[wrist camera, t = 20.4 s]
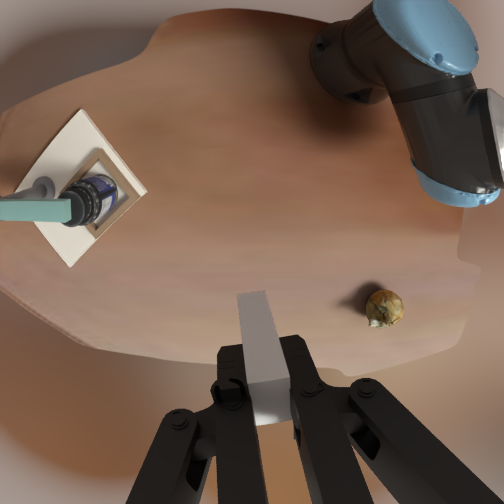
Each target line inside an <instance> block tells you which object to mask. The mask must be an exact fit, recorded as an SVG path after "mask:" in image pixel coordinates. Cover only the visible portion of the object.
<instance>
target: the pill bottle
mask: <svg viewBox="0 0 504 504" xmlns="http://www.w3.org/2000/svg"><path fill="white" fill-rule="evenodd" d="M57 199H71V220H69V221H68V222H66V223H62V224H63V225H64V226H67V227H76V226H85V225H88V224H90V223H92V222H93V221H95V220H96V219H98V218H99V217H101V216H102V215H104V214H105V213H107V212H108V211H110V210H111V209H112V208H113V207H114V206H115V204H116V202H117V200H118V190H117V186H116V184H115V182H114V181H113V180H112V179H111V178H110V177H108V176H106V175H102V174H99V175H95V176H92V177H88V178H85V179H82V180H79V181H76V182H73V183H72V184H70V185H69V186H68V187H67V188H66V190H65V191H64V192H62V193H61V194H60V195H59V196H58V198H57Z"/></svg>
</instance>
